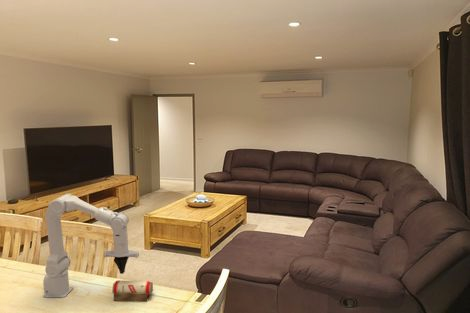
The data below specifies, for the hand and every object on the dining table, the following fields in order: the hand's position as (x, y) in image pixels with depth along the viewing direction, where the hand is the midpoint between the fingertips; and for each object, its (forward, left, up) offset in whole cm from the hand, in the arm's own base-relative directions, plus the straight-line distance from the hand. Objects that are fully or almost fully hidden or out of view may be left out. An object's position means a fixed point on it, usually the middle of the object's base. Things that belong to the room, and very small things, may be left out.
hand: (122, 272), depth 153 cm
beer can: (-4, -1, -7) cm, 8 cm away
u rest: (+4, 0, -10) cm, 11 cm away
